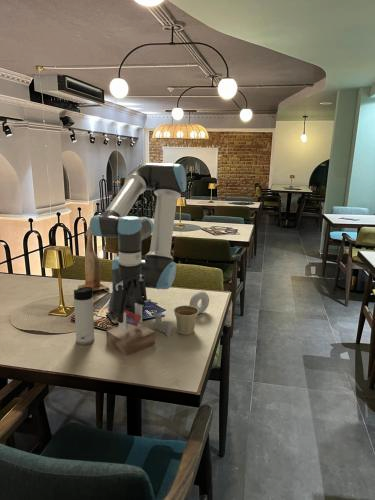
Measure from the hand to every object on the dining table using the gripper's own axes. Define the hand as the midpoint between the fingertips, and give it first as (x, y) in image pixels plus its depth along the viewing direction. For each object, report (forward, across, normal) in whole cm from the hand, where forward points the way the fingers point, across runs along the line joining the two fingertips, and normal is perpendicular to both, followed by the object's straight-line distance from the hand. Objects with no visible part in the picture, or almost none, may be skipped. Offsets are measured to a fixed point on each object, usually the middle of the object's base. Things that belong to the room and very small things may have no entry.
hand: (130, 325), depth 129 cm
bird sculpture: (+7, +29, +48) cm, 57 cm away
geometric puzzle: (+1, 0, 0) cm, 1 cm away
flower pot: (+7, +19, -11) cm, 23 cm away
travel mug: (+7, -8, +14) cm, 18 cm away
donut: (+7, +36, -7) cm, 37 cm away
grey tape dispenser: (+7, +14, -4) cm, 16 cm away
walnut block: (+7, 0, 0) cm, 7 cm away
